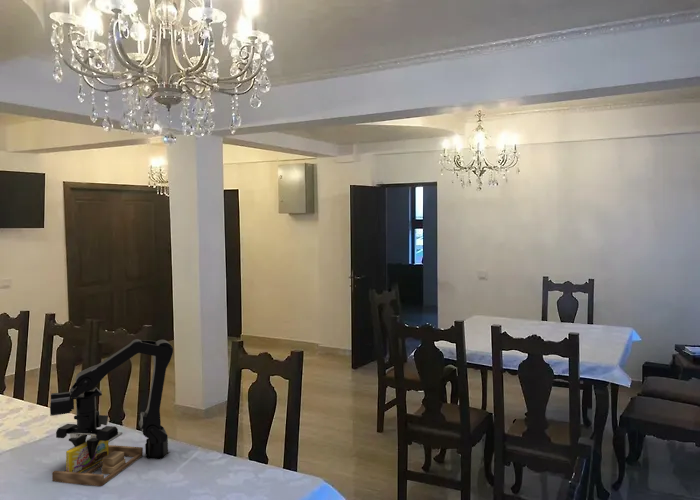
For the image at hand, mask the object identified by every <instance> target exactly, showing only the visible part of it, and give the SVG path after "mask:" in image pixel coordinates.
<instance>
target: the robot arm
mask: <svg viewBox="0 0 700 500" xmlns="http://www.w3.org/2000/svg"><path fill="white" fill-rule="evenodd" d="M137 354H142V355H143V354H144V355H147V356H152V360H153V361H152V362H153V370H152V376H151V382H150V389H149V396H148V401H147V407H146V410H145V411H140V419H139V422H138V425H139V428H140V430H141V432H142V434H143V436H144V437H145V438H147V439H146V440H145V441H146V442H145V444H144V447H145V448H144V449H145V456H144V457H143V459H149V460H151V459H152V460H162V459H164V458H165V457H166V456H168V455H170V453H171V451H169V437H168V433H167V431H166V429H165V427H164V426H163V425H162V424H161V423H162V422H161V409H160V408H161V403H162V398H163V390H164V385H165V379H166V372H167V368H168V365H169V364H170V362H171V360H172V357H173V354H174V348H173V346H172V345H171V343H170V342H169V341H168V340H166V339H159V340H157V341H156V340H142V339H138V338H136V339H133V340H132V341H131V342H130V343H128V344H127V345H126V346H124V347H122V348H121V349H119V350H118V351H117V352H114V353H113V354H111V355H110V356H109V357H107V358H106V359H104V360H103V361H101V362H100V363H98V364H95V365H92V366H90V367H88V368H84V369H83V370H81V371H79V372H78V373H77V374H76V376H75V382H74V383H73V385H72V386H71V387H70V388H69V391H64V392H53V393H50V404H49V413H50V414H49V415H50V417H52V416H60V415H66V414H71V412H73V410H75V409H76V414H75V415H74V416H73V420H76V423H66V424H64V425H63V426H61V427H57V430H56V431H55V438H57V439H64V438H66V437H67V436H68V435H69V438H68V442H71V444H72V445H73V447H74V446H75V447H77V446H79V445H81V444H83V443H85V442H86V439H87V438H88V436H90V437H91V439H89V440H87V446H88V452H89V457H90V459H92V458H93V457H94V454H95V451H96V448H97V445H98V443H99V441H108V440H110V439H112V438H113V437H115V436H116V435H118V432H119V430H118V429H119V428H117V426H114V425H110V426H109V425H108V420H109V415H107V414H106V415H103V414H100V411H99V410H97V399H96V397H101V396H103V393H102V391H101V390H100V389H98V387H96V386H97V385H98V384H99V383H101V381H102V380H103V379H104V378H105V377H106V376H107V375H108V374H109V373H111V372H112V371H114V370H115V369H116V368H117V369H118V367H120V366H121V365H122V364H124V363H125V362H127V361H129V359H131V358H133V357H134V356H135V355H137ZM74 402H75V403H74ZM75 404H76V406H75ZM75 407H76V408H75ZM102 425H103V426H104V427H102ZM101 427H102V428H101ZM98 428H99V429H98Z"/></svg>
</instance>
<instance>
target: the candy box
mask: <svg viewBox="0 0 700 500" xmlns="http://www.w3.org/2000/svg"><path fill="white" fill-rule="evenodd" d="M108 445H109V442H108V441H99V443H98V445H97V448H96V451H95V454H94V457H93V458H92V459H90V457H89V452H88V446H87V442H85V443H83V444H81V445H79V446H77V447H75V448H72V447H71V448H72V449H70V448H69V449H70V450H69V449H67V450H66V451H65V452H66V453H65V454H66V455H65V461H66V462H65V465H66V466H65V469H66V470H65V471H66V472H78V473H83V472H84V471H86V470H88V469H91V468H93V467H95V466H96V465H98V464H99V463H101V462H102V461H103V458H104V457H106V456H107V455H108Z"/></svg>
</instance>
